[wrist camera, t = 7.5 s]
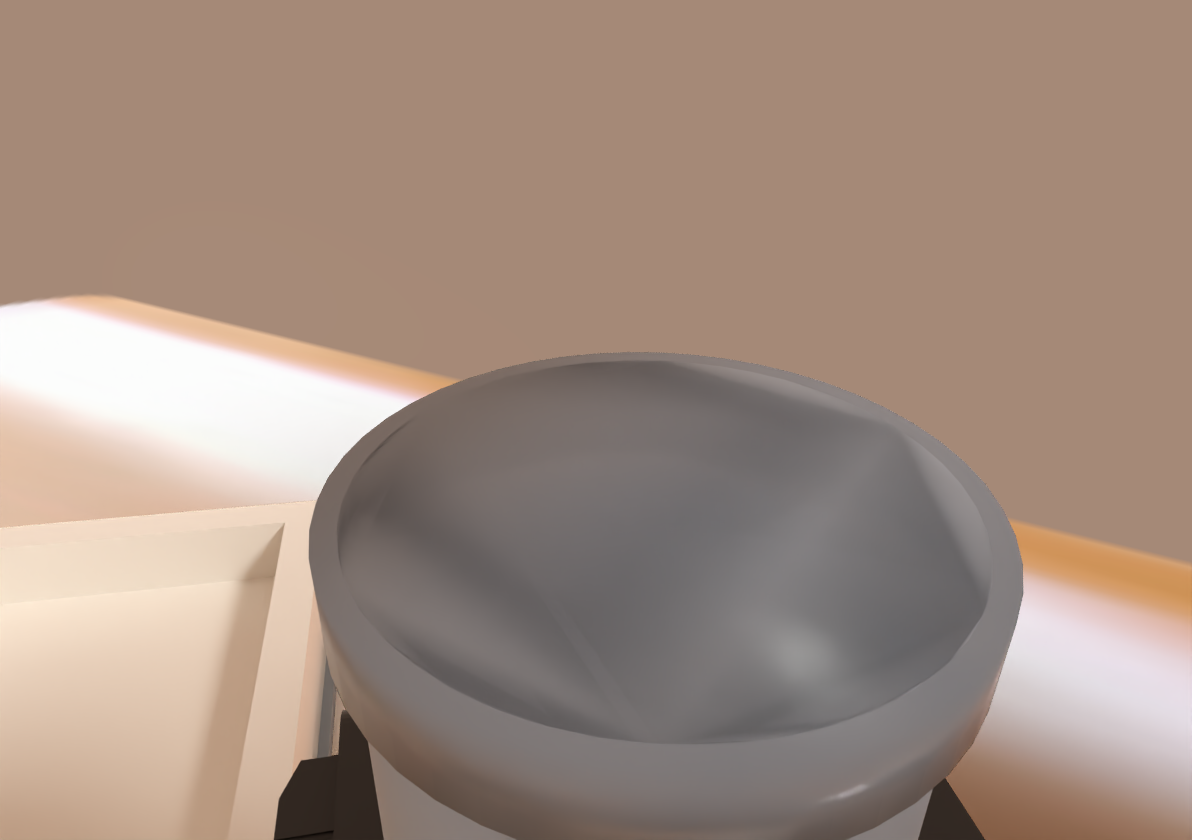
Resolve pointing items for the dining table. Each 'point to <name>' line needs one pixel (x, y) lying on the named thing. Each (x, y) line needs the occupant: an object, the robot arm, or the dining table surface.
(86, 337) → the dining table surface
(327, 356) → the dining table surface
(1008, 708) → the dining table surface
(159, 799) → the dish
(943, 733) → the canister
